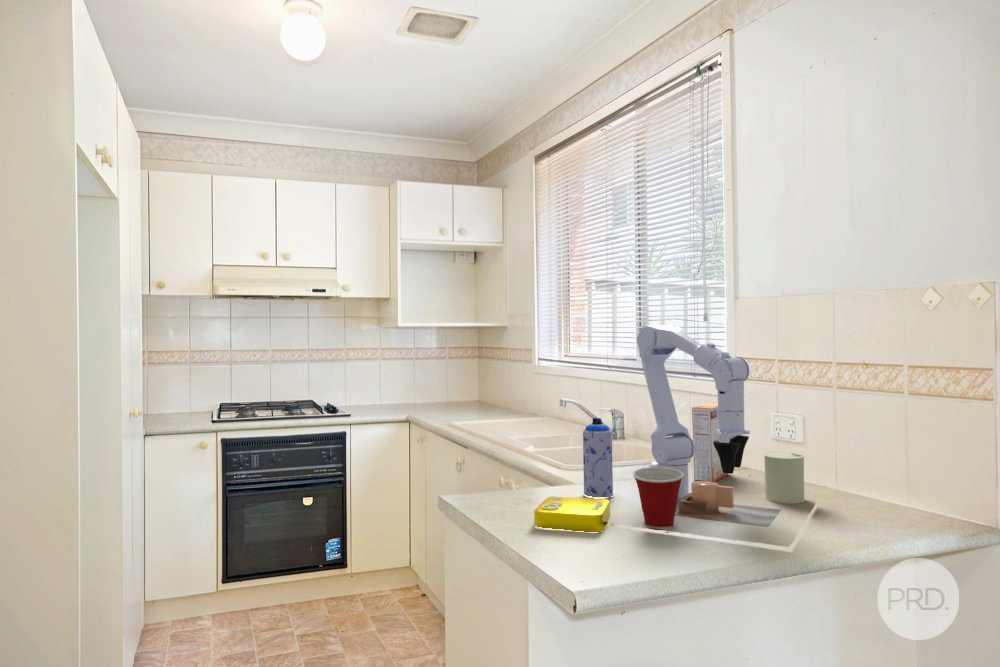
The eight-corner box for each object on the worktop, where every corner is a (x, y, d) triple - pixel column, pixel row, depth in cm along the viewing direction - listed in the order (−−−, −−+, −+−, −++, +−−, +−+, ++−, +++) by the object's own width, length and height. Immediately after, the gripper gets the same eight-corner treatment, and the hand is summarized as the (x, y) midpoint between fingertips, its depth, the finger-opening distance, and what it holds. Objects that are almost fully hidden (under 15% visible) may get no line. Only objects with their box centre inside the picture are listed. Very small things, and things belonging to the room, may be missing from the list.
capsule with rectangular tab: (695, 505, 168) (695, 480, 168) (736, 509, 163) (735, 483, 163) (688, 511, 163) (688, 485, 163) (730, 516, 158) (729, 489, 158)
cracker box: (709, 472, 210) (708, 401, 210) (730, 474, 207) (728, 402, 207) (692, 480, 199) (690, 406, 199) (713, 483, 195) (712, 407, 195)
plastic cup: (628, 531, 150) (627, 475, 150) (638, 518, 160) (637, 465, 160) (681, 536, 146) (680, 478, 146) (687, 522, 156) (687, 468, 156)
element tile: (601, 536, 149) (601, 513, 149) (532, 531, 153) (532, 509, 153) (611, 517, 163) (611, 497, 163) (548, 514, 167) (547, 493, 167)
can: (809, 507, 168) (808, 456, 167) (768, 506, 169) (767, 456, 169) (800, 498, 177) (799, 450, 176) (761, 497, 178) (760, 449, 178)
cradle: (694, 503, 173) (694, 489, 173) (781, 512, 163) (780, 498, 163) (674, 518, 160) (674, 504, 160) (768, 530, 149) (767, 514, 149)
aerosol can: (585, 491, 188) (584, 416, 188) (615, 492, 186) (614, 416, 186) (580, 498, 180) (579, 420, 180) (611, 499, 178) (610, 420, 178)
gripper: (742, 414, 153) (743, 477, 153) (755, 407, 166) (756, 465, 166) (709, 413, 157) (710, 474, 157) (724, 406, 169) (725, 463, 169)
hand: (731, 470), depth 162 cm, fingers open, 7 cm apart
